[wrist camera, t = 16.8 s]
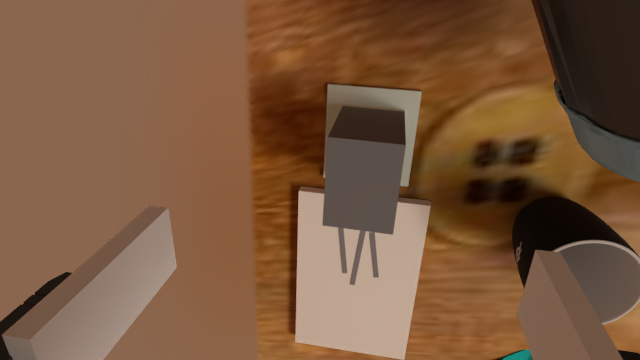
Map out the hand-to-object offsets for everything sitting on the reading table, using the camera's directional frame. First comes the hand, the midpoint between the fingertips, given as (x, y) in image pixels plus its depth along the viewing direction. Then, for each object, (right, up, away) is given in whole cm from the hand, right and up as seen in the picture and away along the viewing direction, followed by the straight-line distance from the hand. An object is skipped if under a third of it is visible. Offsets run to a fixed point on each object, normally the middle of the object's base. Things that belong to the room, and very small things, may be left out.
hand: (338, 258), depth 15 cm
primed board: (+4, -9, +35) cm, 36 cm away
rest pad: (+4, +7, +28) cm, 29 cm away
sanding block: (+4, +6, +28) cm, 29 cm away
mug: (+24, -3, +29) cm, 37 cm away
